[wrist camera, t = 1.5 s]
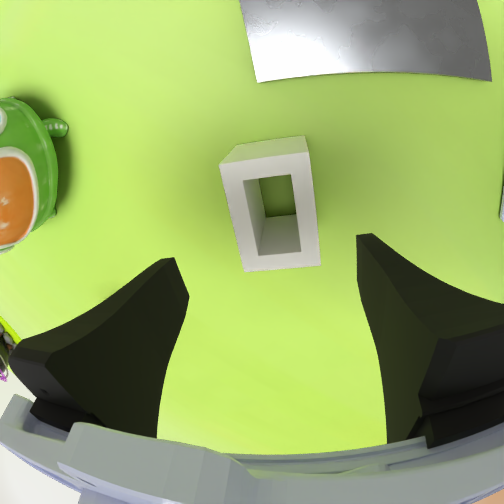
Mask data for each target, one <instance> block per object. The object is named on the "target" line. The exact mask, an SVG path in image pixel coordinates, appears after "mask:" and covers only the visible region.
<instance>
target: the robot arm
mask: <svg viewBox="0 0 504 504" xmlns="http://www.w3.org/2000/svg"><path fill="white" fill-rule="evenodd" d="M500 219H501V220H502V221H503V222H504V188H503V197H502V204H501V211H500ZM356 243H357V282H358V287H359V292H360V297H361V302H362V305H363V308H364V311H365V314H366V317H367V320H368V323H369V326H370V330H371V333H372V336H373V339H374V342H375V346H376V350H377V354H378V359H379V365H380V371H381V377H382V385H383V393H384V402H385V414H386V429H387V444H385V445H379V446H373V447H367V448H360V449H353V450H344V451H335V452H324V453H311V454H288V455H254V454H231V453H220V452H217V451H214V450H211V449H208V448H206V447H201V446H195V445H190V444H186V443H181V442H175V441H168V440H162V439H157V425H158V416H159V407H160V401H161V395H162V389H163V384H164V379H165V375H166V370H167V366H168V363H169V360H170V357H171V354H172V351H173V349H174V346H175V343H176V341H177V338H178V335H179V333H180V330H181V327H182V324H183V322H184V319H185V315H186V311H187V307H188V301H189V294H188V291H187V289H186V286H185V284H184V281H183V279H182V276H181V274H180V271H179V269H178V266H177V263H176V261H175V258H174V257H172V258H164V259H160V260H159V261H157V262H155V263H154V264H152V265H151V266H149V267H148V268H147V269H145V270H144V271H143V272H142V273H140V274H139V275H138V276H136V277H135V278H134V279H132V280H131V281H130V282H129V283H127V284H126V285H125V286H123V287H122V288H121V289H119V290H118V291H117V292H115V293H114V294H113V295H111V296H110V297H109V298H107V299H106V300H104V301H103V302H101V303H100V304H98V305H97V306H95V307H94V308H92V309H90V310H89V311H87V312H86V313H84V314H82V315H80V316H78V317H76V318H74V319H73V320H71V321H69V322H67V323H65V324H63V325H60V326H58V327H56V328H54V329H51V330H49V331H46V332H44V333H41V334H38V335H35V336H32V337H29V338H26V339H23V340H21V341H20V342H19V343H18V344H17V346H16V347H15V348H14V350H13V351H12V353H11V354H10V356H9V357H8V363H9V366H10V368H11V369H12V371H13V373H14V374H15V375H16V376H17V377H18V379H19V380H20V381H21V382H22V383H23V384H24V385H25V386H26V387H27V388H28V389H29V390H30V391H31V392H32V393H33V395H34V396H35V397H37V398H36V400H35V402H34V403H33V402H32V401H30V400H29V399H27V398H24V397H22V396H20V395H17V394H14V395H13V397H12V399H11V401H10V402H9V404H8V406H7V408H6V410H5V411H4V413H3V415H2V417H1V419H0V444H1V445H3V446H4V447H5V448H7V449H8V450H9V451H11V452H12V453H13V454H15V455H16V456H17V457H19V458H20V459H22V460H23V461H24V462H26V463H27V464H29V465H30V466H32V467H34V468H35V469H37V470H39V471H40V472H42V473H44V474H45V475H47V476H49V477H51V478H52V479H55V480H56V481H58V482H60V483H62V484H64V485H66V486H67V487H69V488H71V489H74V490H75V491H78V492H80V493H81V496H80V499H79V502H78V504H472V503H474V502H477V501H479V500H481V499H483V498H486V497H488V496H490V495H492V494H494V493H496V492H498V491H500V490H502V489H504V304H501V303H497V302H493V301H490V300H487V299H484V298H481V297H478V296H475V295H472V294H470V293H467V292H465V291H462V290H460V289H458V288H456V287H453V286H451V285H449V284H447V283H445V282H443V281H441V280H439V279H437V278H435V277H434V276H432V275H430V274H428V273H427V272H425V271H423V270H422V269H420V268H419V267H417V266H416V265H414V264H413V263H411V262H410V261H408V260H407V259H405V258H404V257H402V256H401V255H400V254H398V253H397V252H396V251H394V250H393V249H392V248H391V247H389V246H388V245H387V244H385V243H384V242H383V241H382V240H380V239H379V238H378V237H376V236H375V235H374V234H372V233H369V234H361V235H356Z"/></svg>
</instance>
